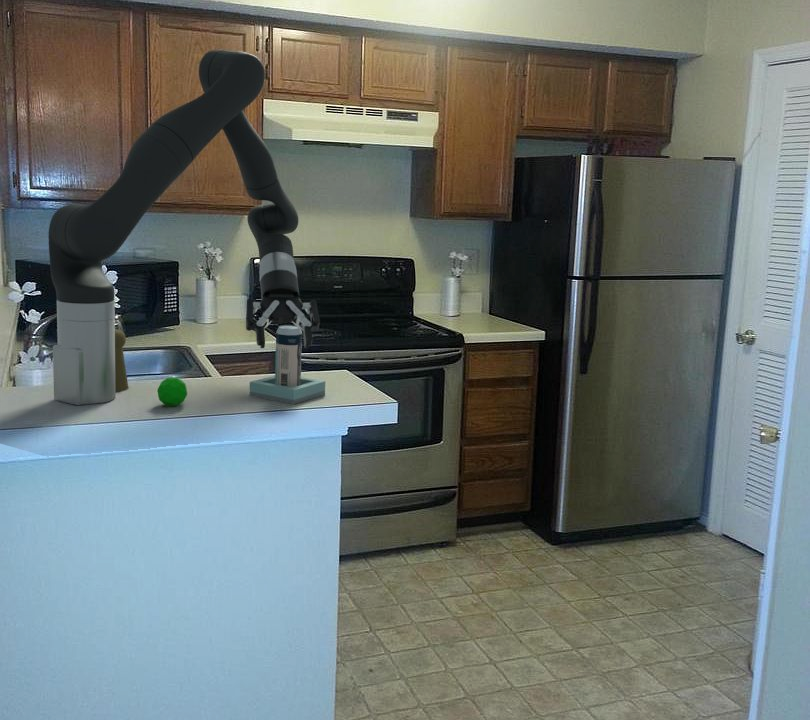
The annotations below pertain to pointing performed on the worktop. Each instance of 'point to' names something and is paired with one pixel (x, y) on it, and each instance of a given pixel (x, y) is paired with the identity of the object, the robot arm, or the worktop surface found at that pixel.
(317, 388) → the tray
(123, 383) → the brown pawn
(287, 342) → the beer can
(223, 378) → the worktop surface
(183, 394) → the polyhedron
